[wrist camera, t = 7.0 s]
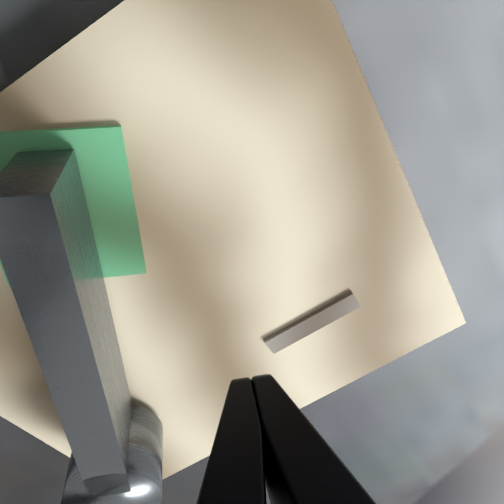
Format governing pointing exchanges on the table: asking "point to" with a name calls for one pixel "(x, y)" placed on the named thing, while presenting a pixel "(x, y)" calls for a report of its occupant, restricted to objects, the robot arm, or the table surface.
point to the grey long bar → (75, 331)
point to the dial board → (226, 210)
